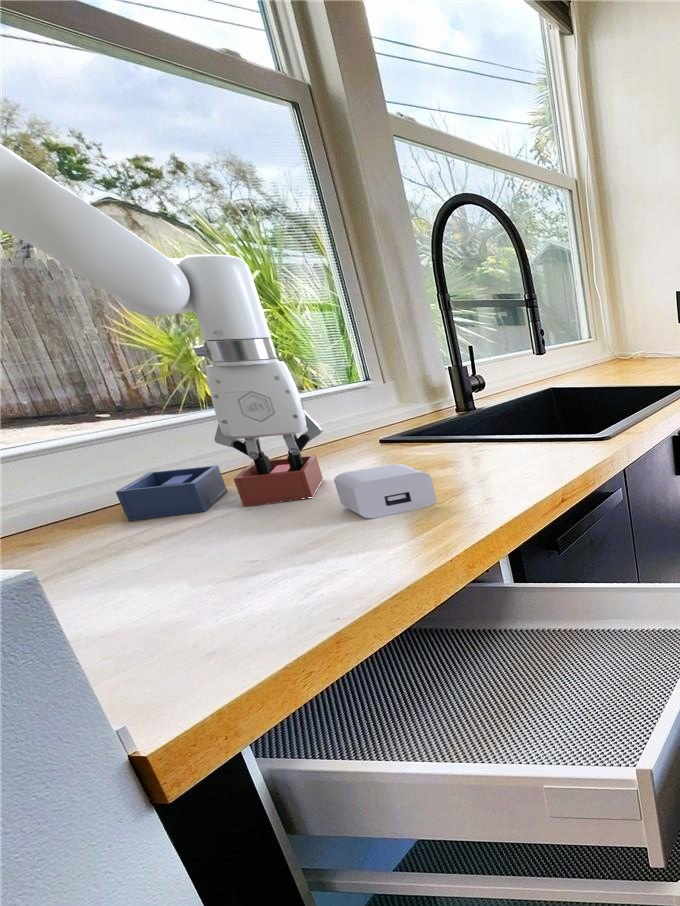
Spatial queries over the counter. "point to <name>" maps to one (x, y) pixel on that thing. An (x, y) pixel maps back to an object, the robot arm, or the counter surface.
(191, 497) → the navy bin
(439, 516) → the counter surface
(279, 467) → the red stamp
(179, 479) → the navy stepped block
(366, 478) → the charger
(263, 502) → the red bin
